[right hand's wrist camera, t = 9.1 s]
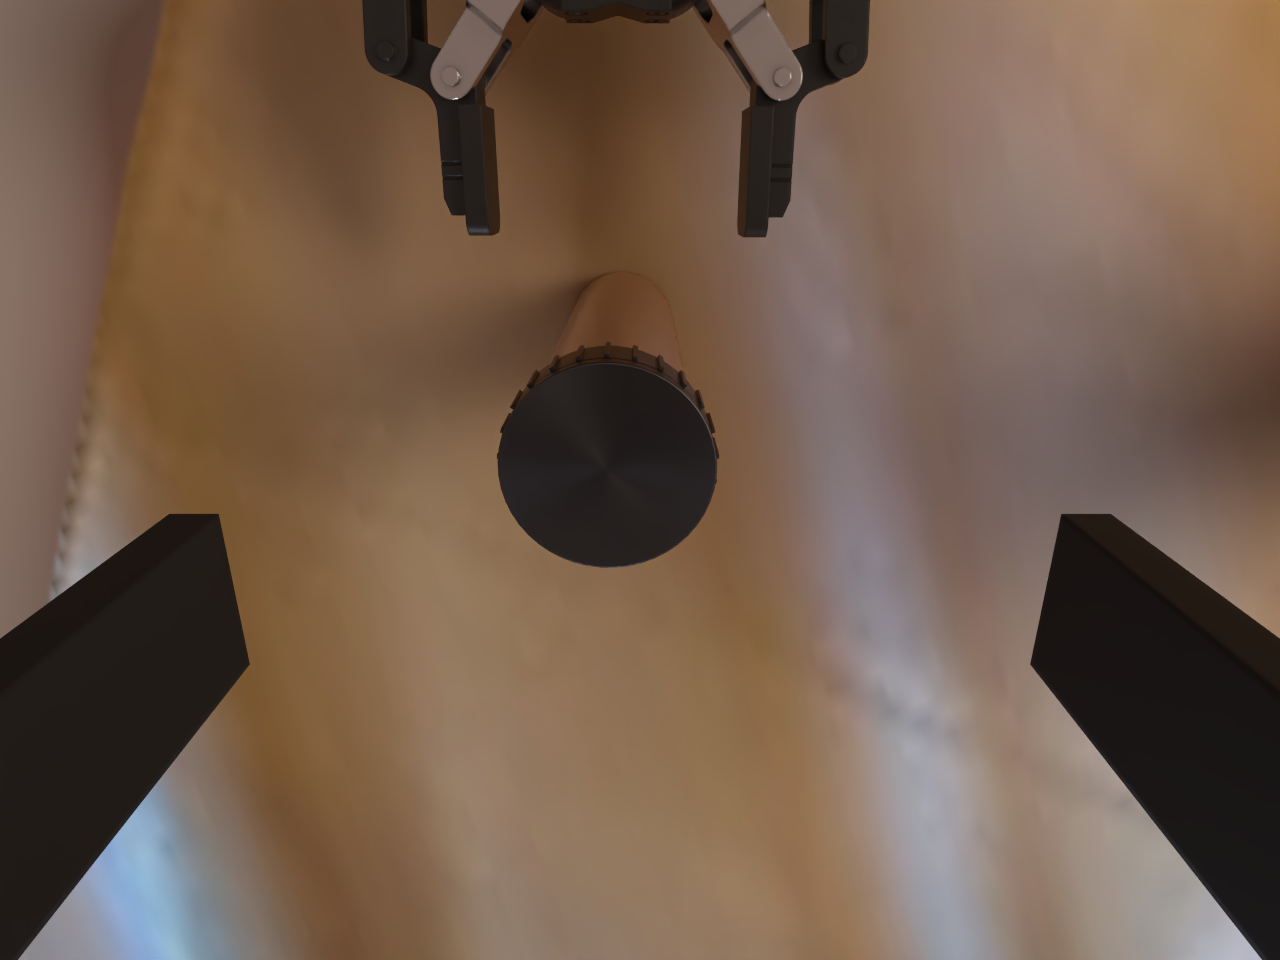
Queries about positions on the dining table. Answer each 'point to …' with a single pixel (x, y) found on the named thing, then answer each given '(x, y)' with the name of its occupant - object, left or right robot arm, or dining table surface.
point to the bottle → (622, 318)
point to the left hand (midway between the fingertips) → (618, 235)
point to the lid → (608, 457)
